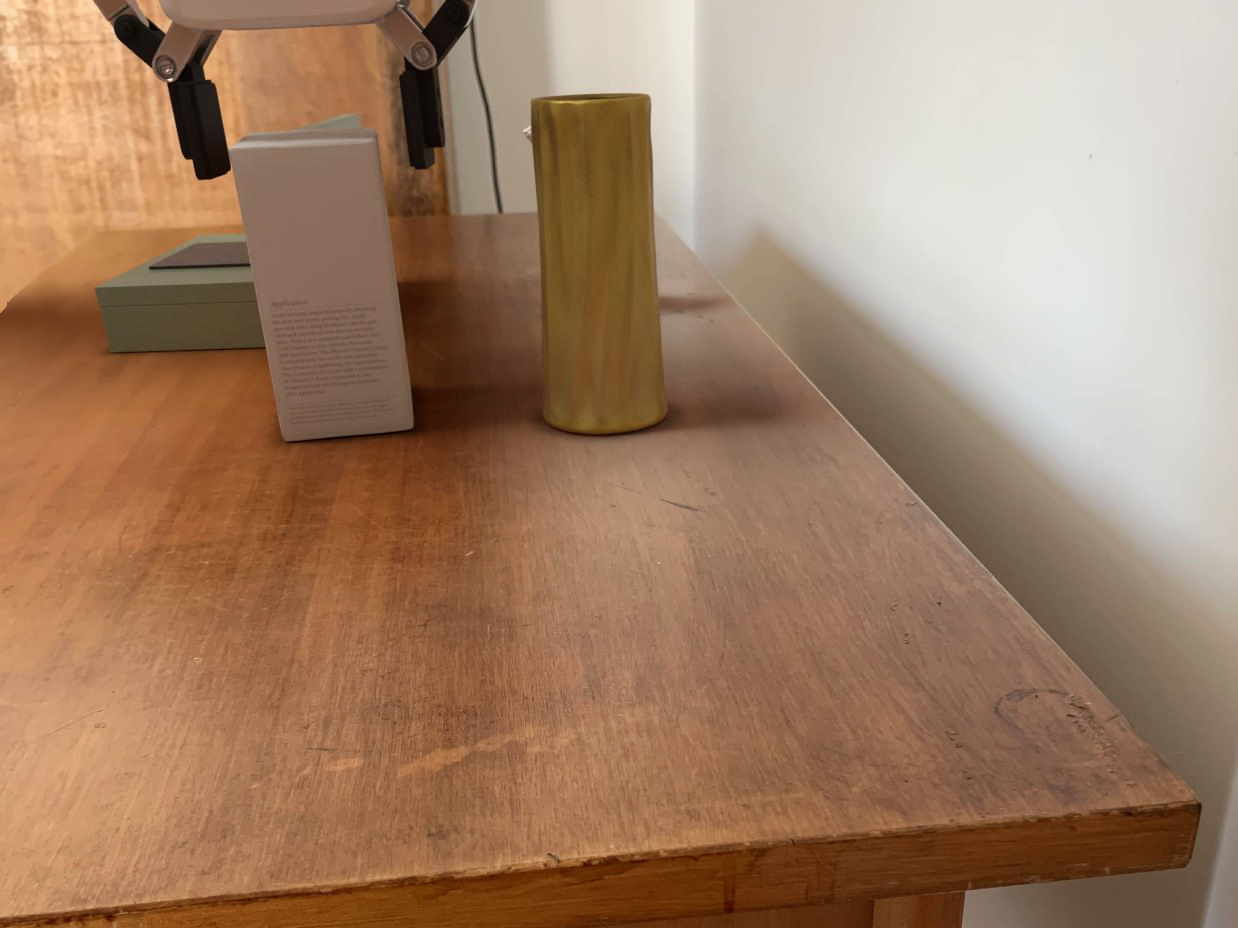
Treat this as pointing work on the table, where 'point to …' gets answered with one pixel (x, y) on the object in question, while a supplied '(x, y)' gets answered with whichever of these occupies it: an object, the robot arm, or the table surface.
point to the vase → (598, 262)
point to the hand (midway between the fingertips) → (319, 171)
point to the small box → (325, 280)
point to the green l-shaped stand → (190, 293)
